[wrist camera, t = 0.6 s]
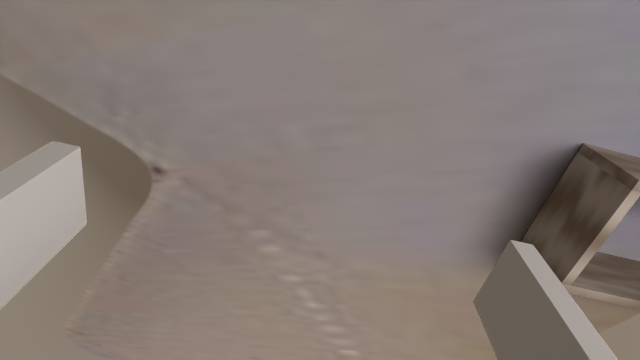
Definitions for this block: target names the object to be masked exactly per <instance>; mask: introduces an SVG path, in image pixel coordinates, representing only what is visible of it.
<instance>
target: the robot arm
mask: <svg viewBox="0 0 640 360" xmlns="http://www.w3.org/2000/svg"><path fill="white" fill-rule="evenodd" d="M86 218H87V217H86V207H85V194H84V183H83V172H82V161H81V151H80V147H79V146H74V145H69V144H65V143H60V142H55V141H52V142H51V143H48V144H46V145H45V146H43V147H41V148H40V149H38V150H36V151H34V152H33V153H31V154H29V155H27V156H26V157H24V158H23V159H20V160H19V161H17V162H15V163H14V164H12V165H10V166H9V167H7V168H5V169H3V170H1V171H0V310H1V309H2V308H3V307H4V306H5V305H6V304H7V303H8V302H9V301H10V300H11V299H12V298H13V297H14V296H15V295H16V294H17V293H18V292H19V291H20V290H21V289H22V288H23V287H24V286H25V285H26V284H27V283H28V282H29V281H30V280H31V279H32V278H33V277H34V276H35V275H36V274H37V273H38V272H39V271H40V270H41V269H42V268H43V267H44V266H45V265H46V264H47V263H48V262H49V261H50V260H51V259H52V258H53V257H54V256H55V255H56V254H57V253H58V252H59V251H60V250H61V249H62V248H63V247H64V246H65V245H66V244H67V243H68V242H69V241H70V240H71V239H72V238H73V237H74V236H75V235H76V234H77V233H78V232H79V231H80V230H81V229H82V228H83V227H84V226H85V225H86V224H87V219H86ZM473 302H474V304H475V307H476V309H477V311H478V314H479V316H480V319H481V321H482V323H483V326H484V328H485V330H486V333H487V335H488V337H489V340H490V342H491V344H492V347H493V349H494V351H495V354H496V356H497V359H498V360H618V359H617V358H616V356H615V355H614V354H613V352H612V351H611V350H610V348H609V347H608V346H607V344H606V343H605V342H604V340H603V339H602V337H601V336H600V335H599V333H598V332H597V331H596V329H595V328H594V327H593V325H592V324H591V322H590V321H589V320H588V318H587V317H586V316H585V314H584V313H583V312H582V310H581V309H580V308H579V306H578V305H577V304H576V302H575V301H574V299H573V298H572V297H571V295H570V294H569V293H568V291H567V290H566V289H565V287H564V286H563V285H562V283H561V282H560V281H559V279H558V278H557V276H556V275H555V274H554V272H553V271H552V270H551V268H550V267H549V266H548V264H547V263H546V262H545V260H544V259H543V257H542V256H541V255H540V253H539V252H538V251H537V249H536V248H535V247H534V245H532V244H528V243H523V242H518V241H514V240H510V241H509V243H508V244H507V246H506V248H505V249H504V251H503V253H502V254H501V256H500V258H499V259H498V261H497V263H496V264H495V266H494V268H493V269H492V271H491V273H490V274H489V276H488V278H487V279H486V281H485V283H484V284H483V286H482V288H481V289H480V291H479V293H478V294H477V296H476V298H475V299H474V301H473Z"/></svg>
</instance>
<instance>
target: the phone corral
mask: <svg viewBox="0 0 640 360" xmlns="http://www.w3.org/2000/svg"><path fill="white" fill-rule="evenodd" d="M639 197H640V158H637V157H633V156H630V155H626V154H622V153H618V152H614V151H611V150H607V149H603V148H599V147H595V146H592V145H588V144H584V143H583V145H582V146H581V148H580V149H579V151H578V152H577V154H576V156H575V157H574V159H573V160H572V162H571V163H570V165H569V167H568V168H567V170H566V171H565V173H564V174H563V176H562V178H561V179H560V181H559V182H558V184H557V185H556V187H555V188H554V190H553V192H552V193H551V195H550V196H549V198H548V199H547V201H546V203H545V204H544V206H543V207H542V209H541V210H540V212H539V214H538V215H537V217H536V218H535V220H534V221H533V223H532V224H531V226H530V228H529V229H528V231H527V232H526V234H525V235H524V237H523V239H522V240H521V242H523V243H528V244H532V245H534V247H535V248H536V249H537V251H538V252H539V253H540V255H541V256H542V257H543V259H544V260H545V262H546V263H547V264H548V266H549V267H550V268H551V270H552V271H553V272H554V274H555V275H556V276H557V278H558V279H559V281H560V282H561V283H562V285H563V286H564V287H565V289H566V290H567V291H568V293H569V294H573V295H577V296H582V297H586V298H591V299H595V300H600V301H604V302H609V303H613V304H618V305H622V306H626V307H631V308H635V309H640V262H638V261H634V260H630V259H625V258H621V257H617V256H613V255H608V254H604V253H600V252H597V251H598V250H599V248H600V247H601V246H602V244H603V243H604V242H605V240H606V239H607V238H608V237H609V235H610V234H611V233H612V231H613V230H614V229H615V228H616V226H617V225H618V224H619V222H620V221H621V220H622V219H623V217H624V216H625V215H626V213H627V212H628V211H629V209H630V208H631V207H632V206H633V204H634V203H635V202H636V200H637V199H638V198H639Z"/></svg>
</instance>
